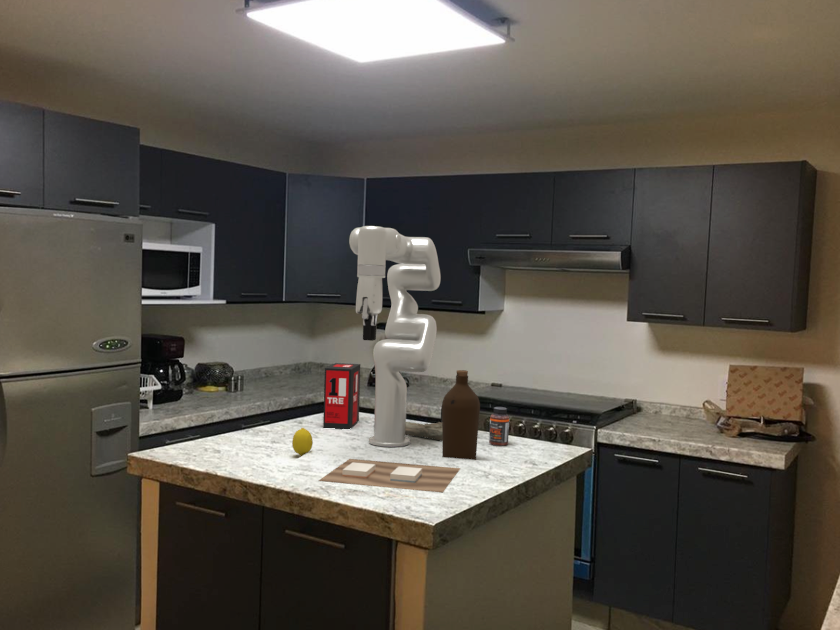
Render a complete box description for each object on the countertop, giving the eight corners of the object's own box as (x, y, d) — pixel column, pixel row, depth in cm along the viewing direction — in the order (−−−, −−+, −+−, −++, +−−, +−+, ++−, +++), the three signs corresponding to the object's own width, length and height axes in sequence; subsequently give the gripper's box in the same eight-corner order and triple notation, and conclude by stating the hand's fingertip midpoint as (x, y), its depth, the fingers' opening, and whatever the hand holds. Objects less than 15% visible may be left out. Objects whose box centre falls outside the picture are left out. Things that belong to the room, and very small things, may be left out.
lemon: (308, 459, 209) (308, 430, 209) (288, 458, 210) (289, 428, 210) (315, 455, 214) (315, 426, 214) (296, 453, 215) (296, 425, 215)
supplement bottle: (486, 444, 236) (487, 408, 235) (492, 441, 241) (493, 405, 241) (505, 447, 233) (506, 410, 233) (510, 443, 239) (511, 407, 238)
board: (349, 464, 205) (349, 458, 205) (460, 474, 198) (460, 468, 198) (318, 487, 182) (318, 480, 182) (442, 498, 175) (442, 492, 175)
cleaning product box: (349, 429, 252) (351, 369, 252) (323, 428, 253) (324, 368, 252) (358, 421, 269) (360, 364, 268) (333, 419, 270) (335, 363, 269)
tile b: (398, 466, 192) (390, 473, 184) (422, 468, 190) (414, 476, 183) (398, 472, 192) (390, 480, 184) (421, 474, 190) (414, 482, 183)
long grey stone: (390, 429, 263) (371, 435, 255) (390, 414, 262) (371, 419, 255) (476, 439, 242) (459, 446, 234) (476, 422, 241) (458, 428, 233)
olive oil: (479, 464, 209) (482, 373, 208) (440, 463, 209) (443, 372, 208) (476, 456, 220) (479, 369, 219) (439, 454, 220) (442, 367, 219)
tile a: (352, 462, 194) (342, 469, 186) (375, 464, 193) (366, 471, 185) (352, 468, 194) (342, 476, 187) (375, 470, 193) (366, 478, 185)
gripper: (366, 272, 215) (364, 337, 216) (349, 271, 201) (347, 341, 201) (391, 273, 213) (389, 339, 214) (377, 272, 199) (374, 342, 200)
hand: (369, 340), depth 208 cm, fingers closed
